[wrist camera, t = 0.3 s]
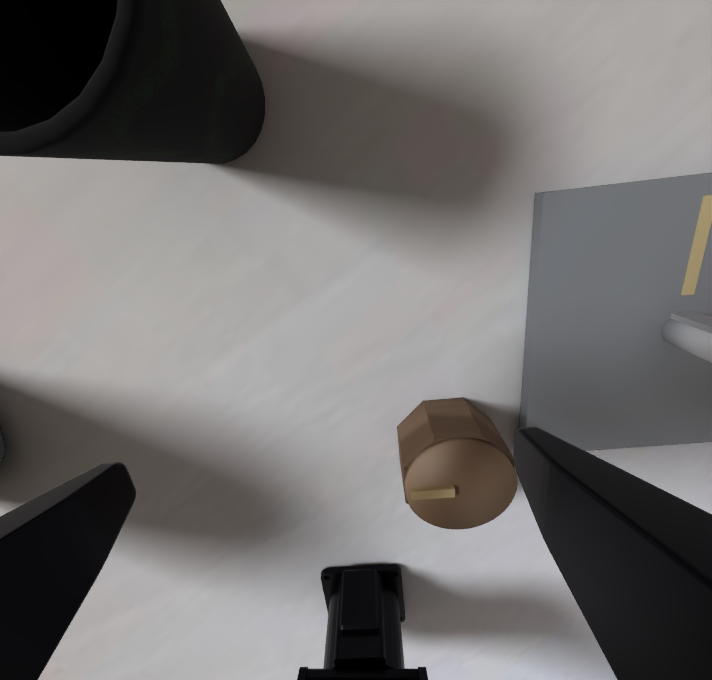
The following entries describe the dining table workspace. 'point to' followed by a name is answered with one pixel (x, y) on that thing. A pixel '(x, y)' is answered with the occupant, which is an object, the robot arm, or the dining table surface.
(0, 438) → the vase
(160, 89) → the cup
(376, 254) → the dining table surface
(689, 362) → the base plate
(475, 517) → the knob
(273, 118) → the dining table surface
